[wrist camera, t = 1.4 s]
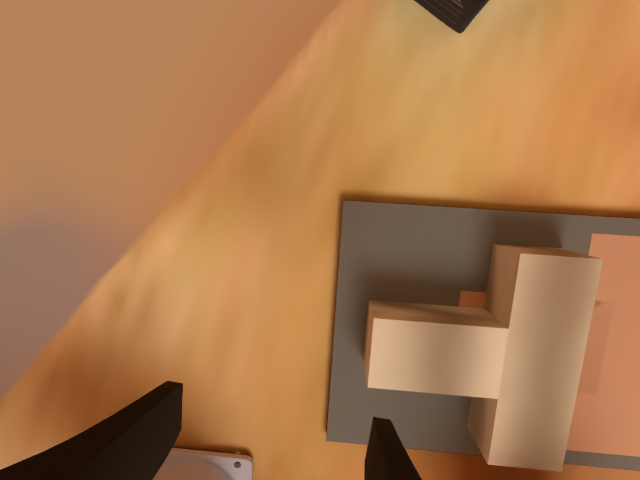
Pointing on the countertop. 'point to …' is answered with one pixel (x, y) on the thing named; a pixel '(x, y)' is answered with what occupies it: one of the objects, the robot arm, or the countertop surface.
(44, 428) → the countertop surface
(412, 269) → the mat
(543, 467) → the t block
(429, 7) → the small box
